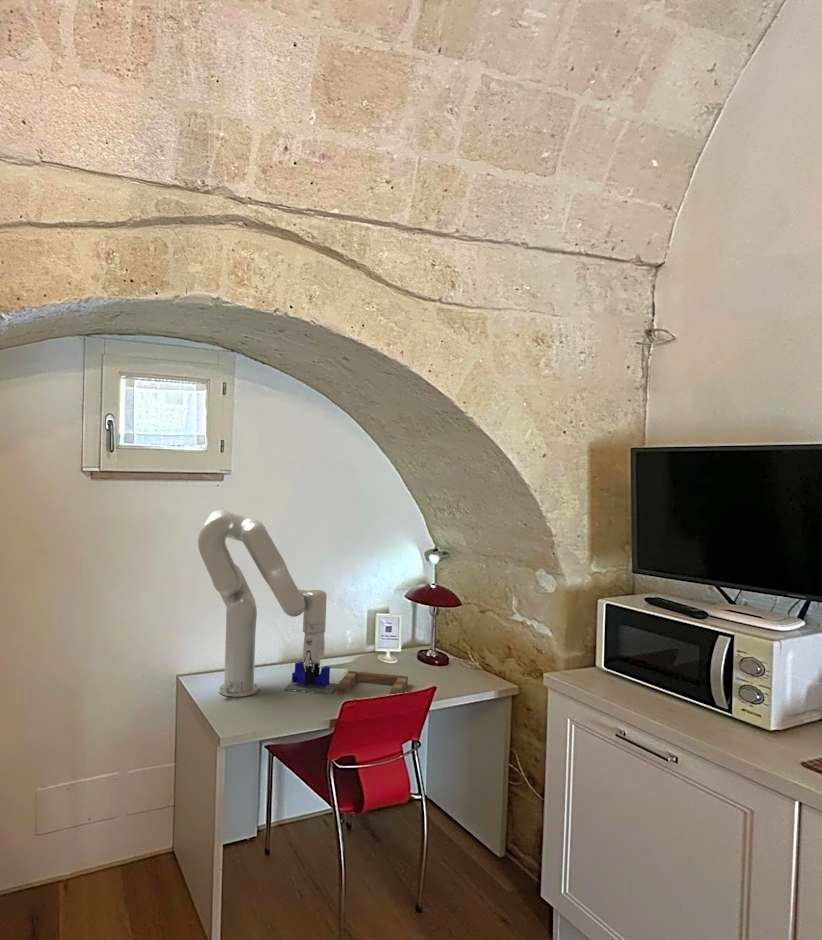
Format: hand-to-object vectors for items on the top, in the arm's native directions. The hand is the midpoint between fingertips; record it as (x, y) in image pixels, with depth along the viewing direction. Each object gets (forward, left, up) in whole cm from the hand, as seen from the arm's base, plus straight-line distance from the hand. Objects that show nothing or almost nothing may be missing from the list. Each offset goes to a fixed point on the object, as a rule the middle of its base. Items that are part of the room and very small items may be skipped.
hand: (312, 680), depth 246 cm
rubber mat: (0, 0, -3) cm, 3 cm away
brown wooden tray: (+5, -20, -3) cm, 21 cm away
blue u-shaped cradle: (0, 0, -1) cm, 1 cm away
